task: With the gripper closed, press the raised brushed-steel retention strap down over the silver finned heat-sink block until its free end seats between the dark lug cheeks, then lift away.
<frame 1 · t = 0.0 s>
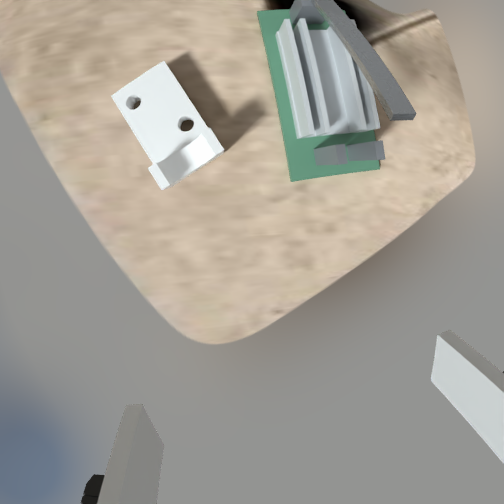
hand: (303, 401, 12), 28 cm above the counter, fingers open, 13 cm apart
heatsink board: (304, 19, 32), on the counter
strap: (355, 43, 23), point 12 cm above the counter, hinge at 32.0°
bracket: (170, 126, 35), on the counter
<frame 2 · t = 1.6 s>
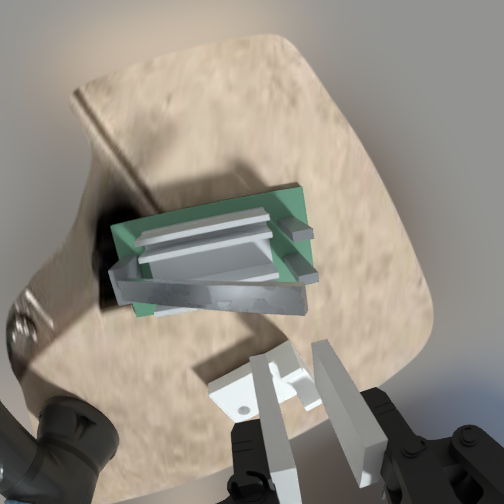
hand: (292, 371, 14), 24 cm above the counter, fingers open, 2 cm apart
heatsink board: (135, 269, 37), on the counter
strap: (194, 294, 26), point 12 cm above the counter, hinge at 32.0°
bracket: (259, 374, 43), on the counter
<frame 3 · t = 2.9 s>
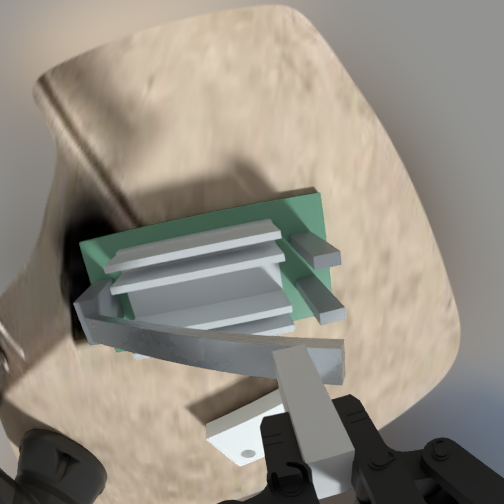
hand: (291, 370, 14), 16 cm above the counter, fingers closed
heatsink board: (111, 296, 29), on the counter
strap: (181, 345, 18), point 12 cm above the counter, hinge at 31.0°, touching gripper
bracket: (266, 412, 35), on the counter
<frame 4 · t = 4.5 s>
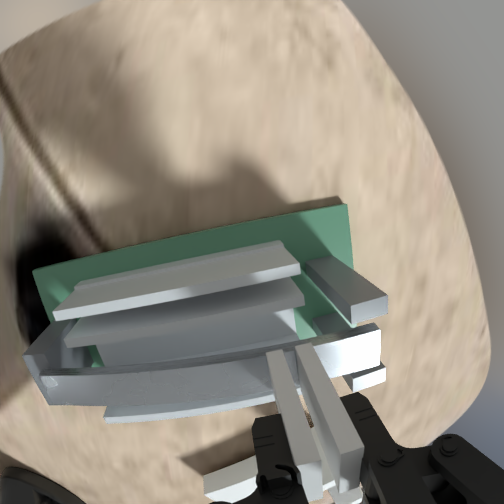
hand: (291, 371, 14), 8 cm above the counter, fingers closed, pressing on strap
heatsink board: (76, 337, 21), on the counter
strap: (192, 380, 15), point 7 cm above the counter, hinge at 4.3°, touching gripper
bracket: (274, 460, 27), on the counter
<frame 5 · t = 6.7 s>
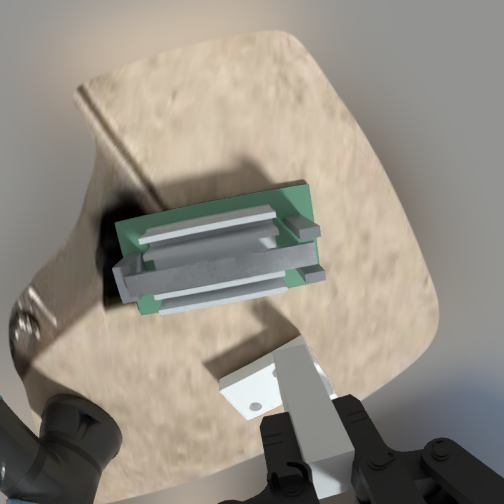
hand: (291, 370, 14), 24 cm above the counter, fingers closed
heatsink board: (139, 267, 37), on the counter
strap: (218, 270, 30), point 7 cm above the counter, hinge at 1.9°
bracket: (271, 370, 43), on the counter
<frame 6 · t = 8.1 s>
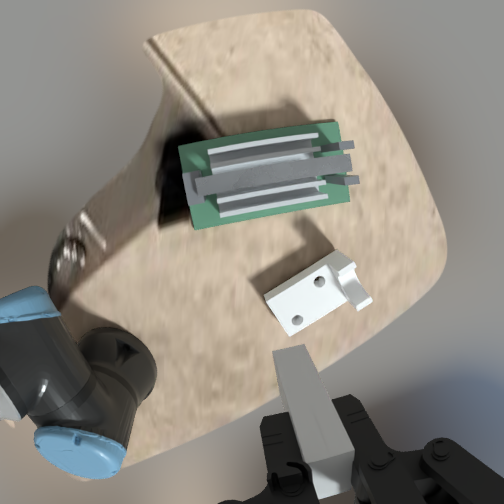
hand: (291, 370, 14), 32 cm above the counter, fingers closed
heatsink board: (196, 185, 43), on the counter
strap: (276, 172, 37), point 7 cm above the counter, hinge at 1.9°
bracket: (309, 287, 49), on the counter
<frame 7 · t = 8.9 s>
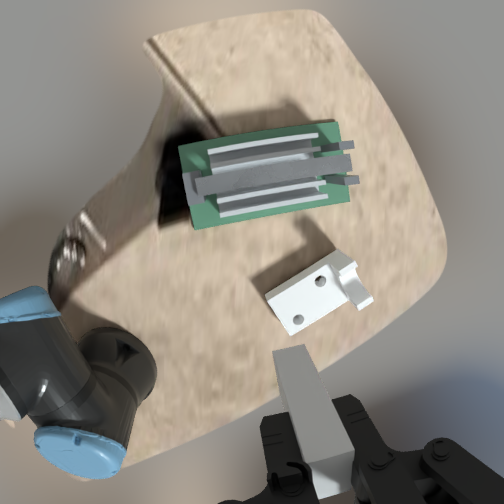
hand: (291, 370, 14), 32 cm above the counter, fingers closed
heatsink board: (196, 185, 43), on the counter
strap: (276, 172, 37), point 7 cm above the counter, hinge at 1.9°
bracket: (310, 287, 49), on the counter
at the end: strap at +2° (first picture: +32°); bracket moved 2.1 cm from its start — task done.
